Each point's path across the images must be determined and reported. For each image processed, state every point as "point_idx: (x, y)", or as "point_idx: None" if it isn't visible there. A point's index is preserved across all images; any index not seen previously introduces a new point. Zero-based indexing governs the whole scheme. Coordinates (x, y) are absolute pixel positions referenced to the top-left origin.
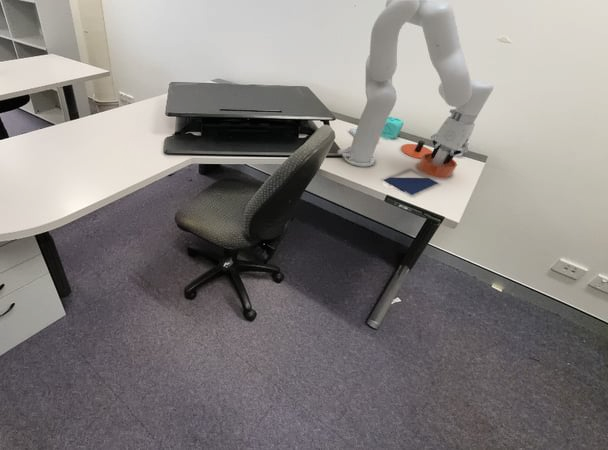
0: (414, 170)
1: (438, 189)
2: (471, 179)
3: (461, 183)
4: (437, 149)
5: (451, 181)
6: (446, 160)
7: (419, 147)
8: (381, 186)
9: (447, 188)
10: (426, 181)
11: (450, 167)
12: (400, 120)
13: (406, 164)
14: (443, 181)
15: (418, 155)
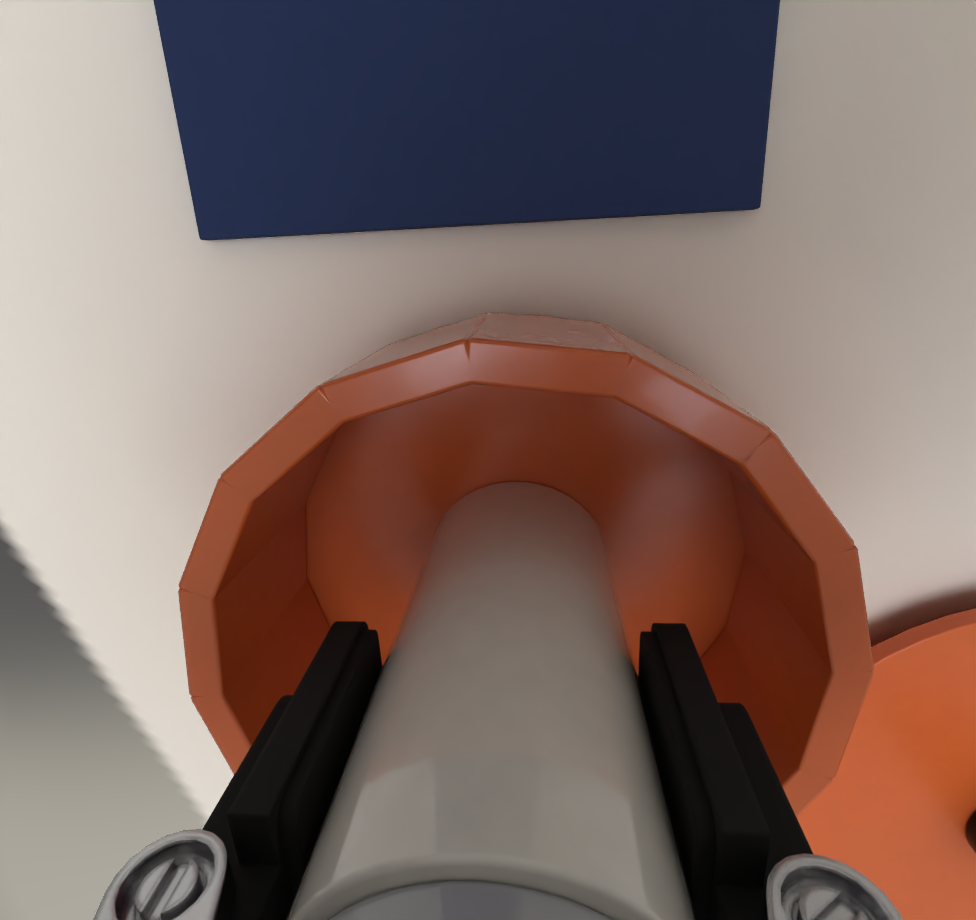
0: (692, 262)
1: (69, 72)
2: (168, 764)
3: (126, 582)
4: (705, 876)
5: (204, 511)
6: (306, 681)
7: None
8: None
9: (63, 265)
10: (306, 58)
11: (205, 610)
12: None
13: (910, 320)
14: (239, 403)
15: (924, 715)
